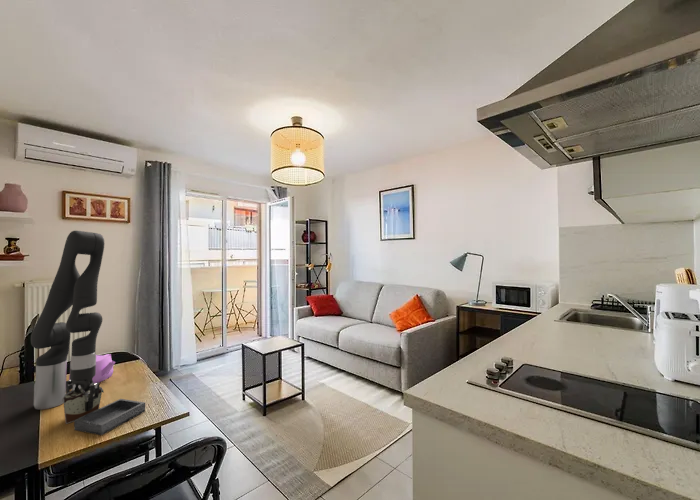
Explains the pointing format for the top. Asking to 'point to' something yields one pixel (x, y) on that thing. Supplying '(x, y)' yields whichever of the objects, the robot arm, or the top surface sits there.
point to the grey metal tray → (109, 416)
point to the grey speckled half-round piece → (78, 405)
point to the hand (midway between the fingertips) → (81, 408)
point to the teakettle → (103, 368)
